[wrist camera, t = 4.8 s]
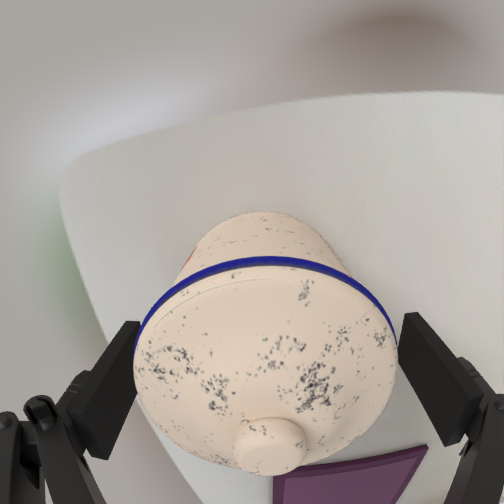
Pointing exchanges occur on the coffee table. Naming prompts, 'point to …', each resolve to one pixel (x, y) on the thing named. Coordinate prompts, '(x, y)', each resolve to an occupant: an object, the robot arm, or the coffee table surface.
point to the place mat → (350, 480)
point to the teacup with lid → (265, 349)
